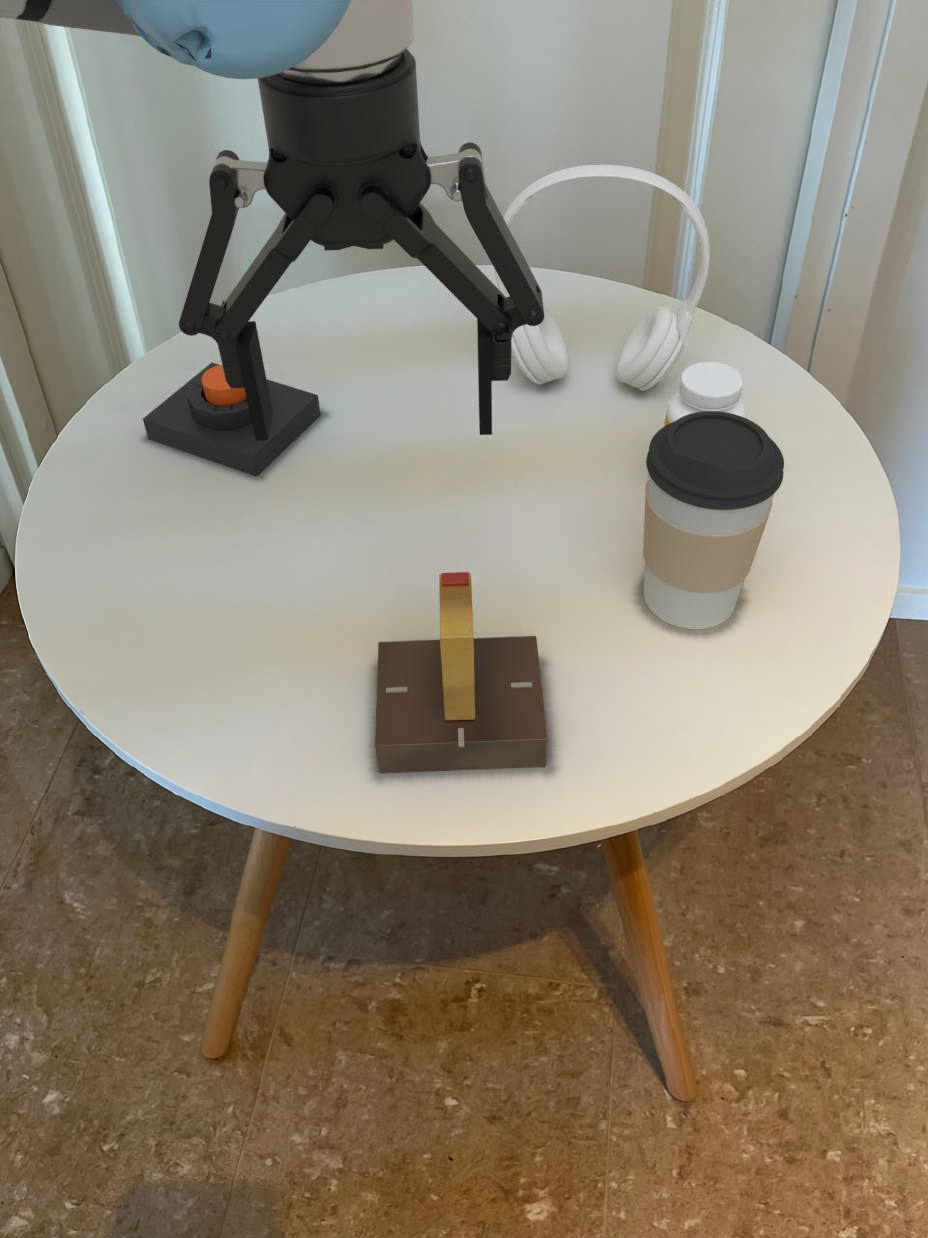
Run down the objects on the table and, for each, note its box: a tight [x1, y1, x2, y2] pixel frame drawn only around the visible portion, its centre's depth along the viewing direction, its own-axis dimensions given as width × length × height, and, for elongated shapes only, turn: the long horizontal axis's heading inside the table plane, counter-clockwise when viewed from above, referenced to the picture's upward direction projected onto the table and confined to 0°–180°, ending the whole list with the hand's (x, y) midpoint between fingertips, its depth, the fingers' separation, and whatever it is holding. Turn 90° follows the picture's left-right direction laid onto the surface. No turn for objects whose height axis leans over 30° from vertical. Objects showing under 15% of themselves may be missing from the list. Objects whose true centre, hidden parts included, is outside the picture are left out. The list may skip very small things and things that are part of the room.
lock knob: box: [438, 571, 475, 720], centre depth 67 cm, size 6×2×8 cm, turn 1°
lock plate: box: [374, 635, 548, 774], centre depth 71 cm, size 11×10×3 cm
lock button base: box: [142, 362, 322, 477], centre depth 95 cm, size 12×10×4 cm
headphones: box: [493, 164, 711, 391], centre depth 92 cm, size 7×18×20 cm, turn 82°
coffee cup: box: [642, 411, 785, 630], centre depth 74 cm, size 9×9×15 cm
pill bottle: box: [664, 361, 747, 426], centre depth 84 cm, size 6×6×11 cm
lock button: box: [202, 364, 247, 405], centre depth 93 cm, size 4×4×2 cm
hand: (374, 424), depth 65 cm, fingers open, 13 cm apart
